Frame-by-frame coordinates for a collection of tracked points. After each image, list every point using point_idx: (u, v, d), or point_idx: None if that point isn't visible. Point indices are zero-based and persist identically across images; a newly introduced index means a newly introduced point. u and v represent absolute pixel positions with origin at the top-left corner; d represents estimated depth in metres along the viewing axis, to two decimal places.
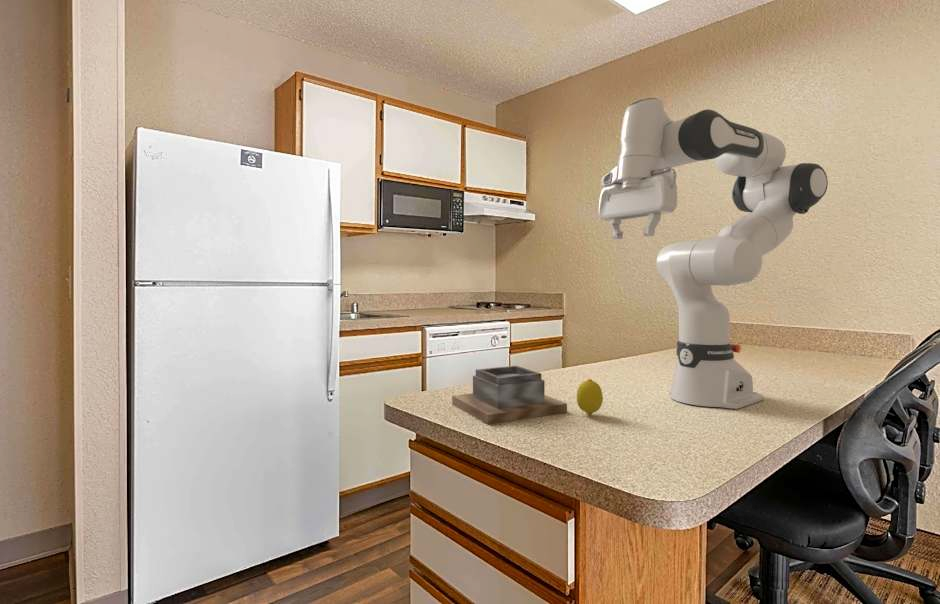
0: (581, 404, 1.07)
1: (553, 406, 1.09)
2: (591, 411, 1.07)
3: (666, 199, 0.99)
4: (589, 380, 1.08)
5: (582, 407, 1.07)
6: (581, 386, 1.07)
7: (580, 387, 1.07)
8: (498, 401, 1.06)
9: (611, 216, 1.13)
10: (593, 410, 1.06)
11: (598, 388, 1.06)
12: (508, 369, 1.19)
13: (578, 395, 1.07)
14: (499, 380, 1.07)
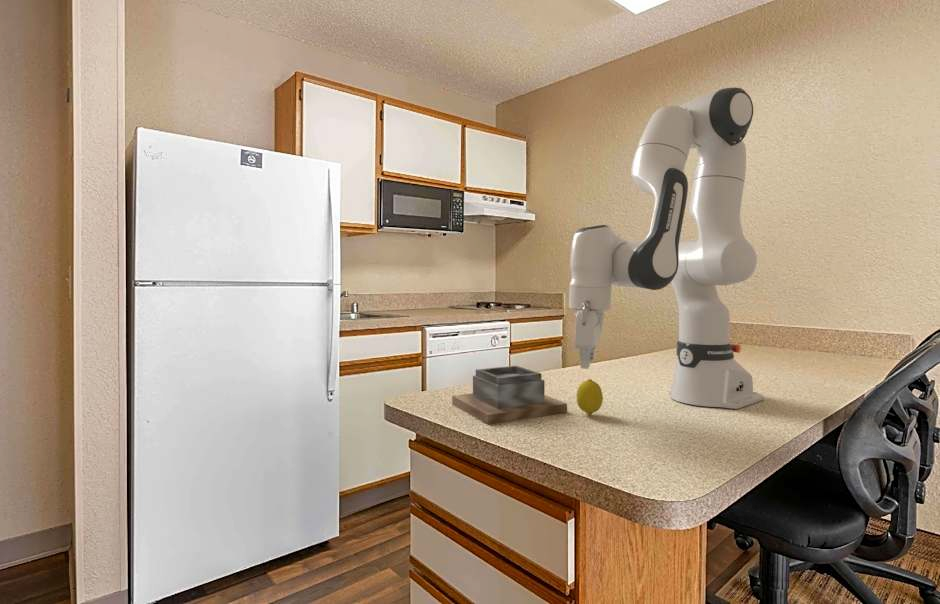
0: (581, 404, 1.07)
1: (553, 406, 1.09)
2: (591, 411, 1.07)
3: (576, 338, 0.98)
4: (589, 380, 1.08)
5: (582, 407, 1.07)
6: (581, 386, 1.07)
7: (580, 387, 1.07)
8: (498, 401, 1.06)
9: None
10: (593, 410, 1.06)
11: (598, 388, 1.06)
12: (508, 369, 1.19)
13: (578, 395, 1.07)
14: (499, 380, 1.07)
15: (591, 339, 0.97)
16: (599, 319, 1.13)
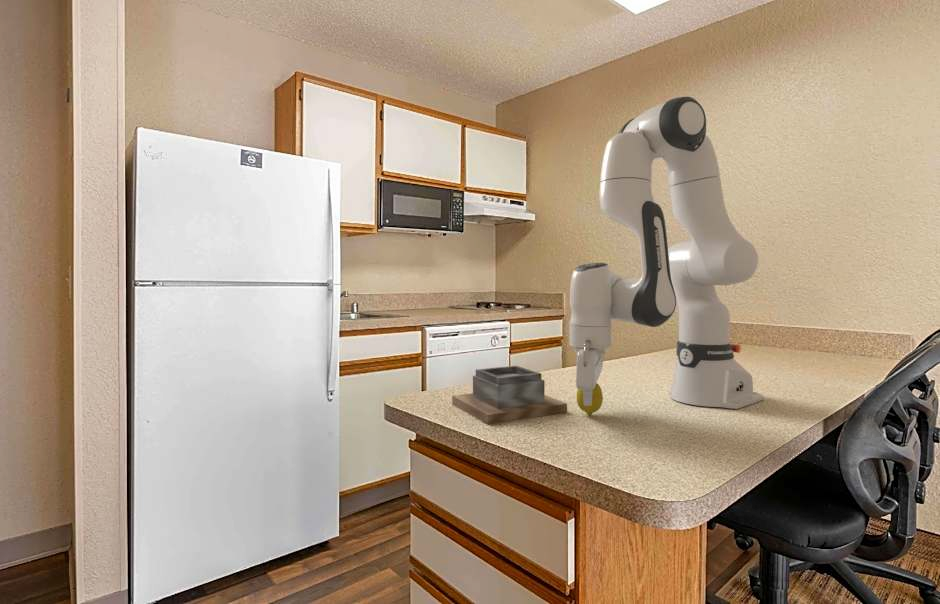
0: (581, 404, 1.07)
1: (553, 406, 1.09)
2: (591, 411, 1.07)
3: (578, 379, 0.99)
4: None
5: (582, 407, 1.07)
6: None
7: None
8: (498, 401, 1.06)
9: None
10: (593, 410, 1.06)
11: (598, 388, 1.06)
12: (508, 369, 1.19)
13: (578, 395, 1.07)
14: (499, 380, 1.07)
15: (593, 380, 0.98)
16: None
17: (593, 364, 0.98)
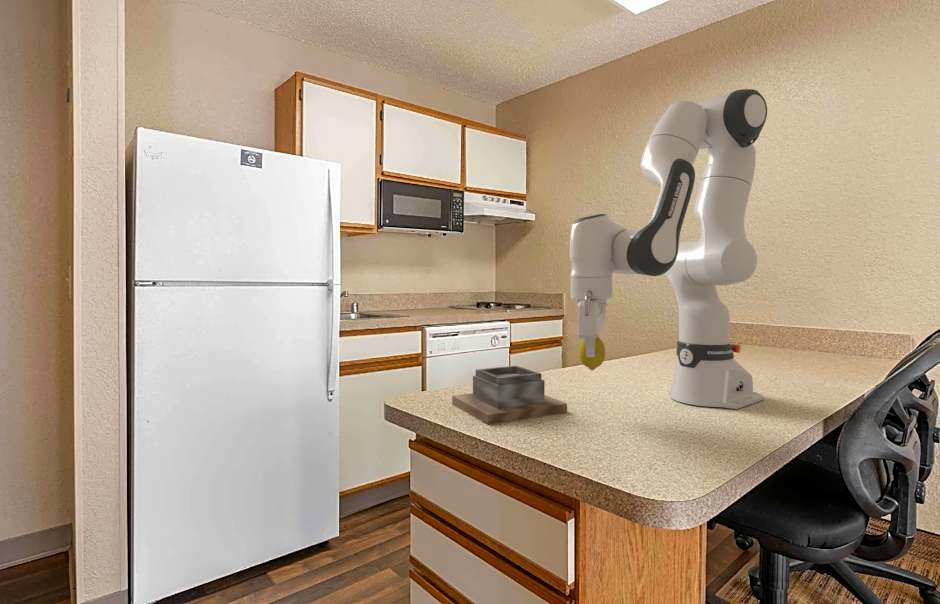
0: (583, 359, 1.06)
1: (553, 406, 1.09)
2: (594, 366, 1.06)
3: (580, 329, 0.98)
4: None
5: (585, 362, 1.07)
6: (583, 341, 1.07)
7: (582, 342, 1.07)
8: (498, 401, 1.06)
9: None
10: (596, 365, 1.06)
11: (600, 343, 1.06)
12: (508, 369, 1.19)
13: (580, 350, 1.07)
14: (499, 380, 1.07)
15: (595, 329, 0.98)
16: (602, 308, 1.13)
17: (595, 313, 0.98)
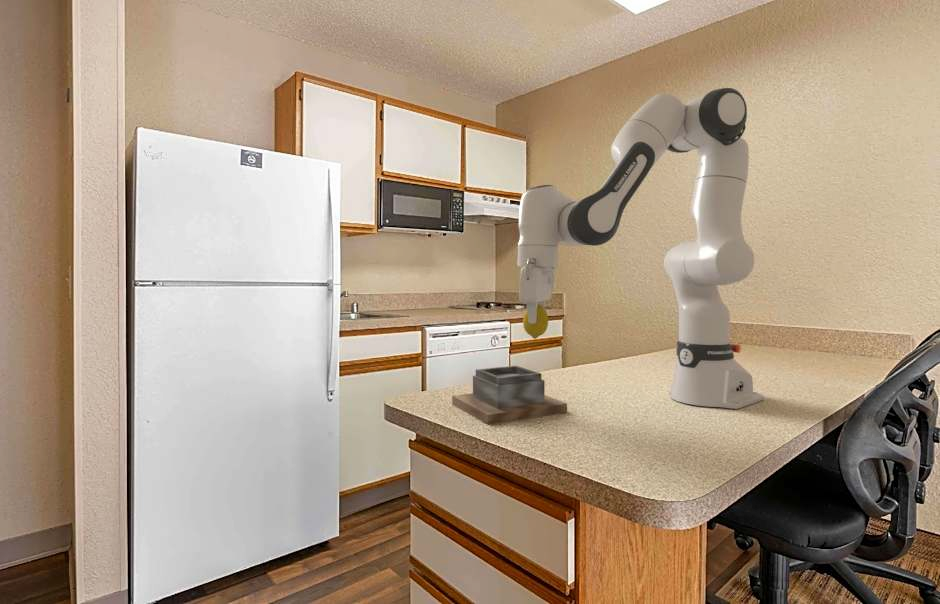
0: (526, 326, 1.09)
1: (553, 406, 1.09)
2: (536, 334, 1.09)
3: (521, 292, 1.01)
4: None
5: (527, 330, 1.09)
6: None
7: (526, 310, 1.10)
8: (498, 401, 1.06)
9: None
10: (538, 333, 1.09)
11: (543, 311, 1.09)
12: (508, 369, 1.19)
13: (524, 318, 1.10)
14: (499, 380, 1.07)
15: (534, 293, 1.00)
16: (549, 279, 1.16)
17: (535, 277, 1.01)
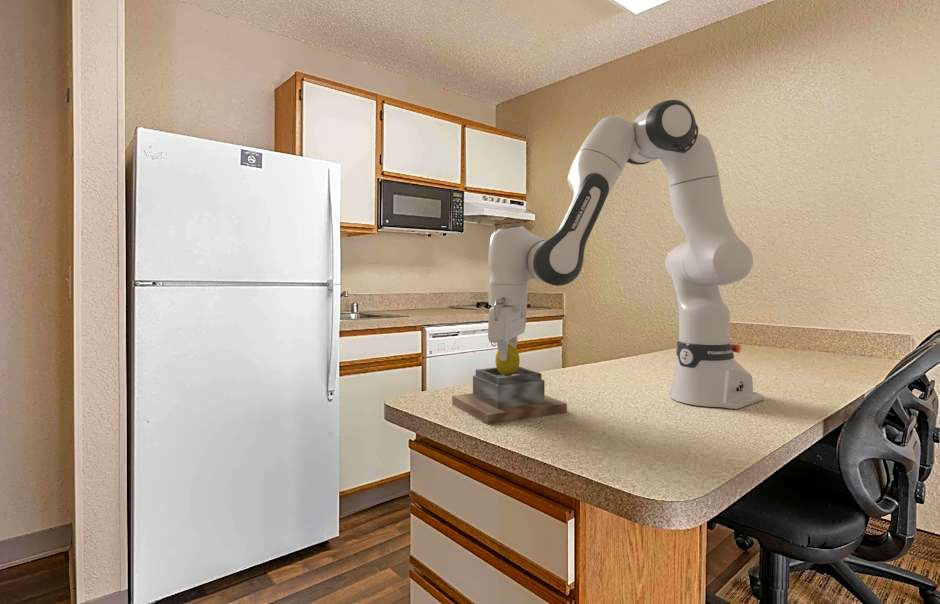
0: (498, 366, 1.12)
1: (553, 406, 1.09)
2: (508, 373, 1.12)
3: (489, 333, 1.04)
4: None
5: (499, 370, 1.12)
6: None
7: (498, 351, 1.13)
8: (498, 401, 1.06)
9: None
10: (509, 372, 1.12)
11: (514, 351, 1.12)
12: None
13: (496, 358, 1.13)
14: (499, 380, 1.07)
15: (502, 333, 1.04)
16: (522, 314, 1.19)
17: (503, 318, 1.04)
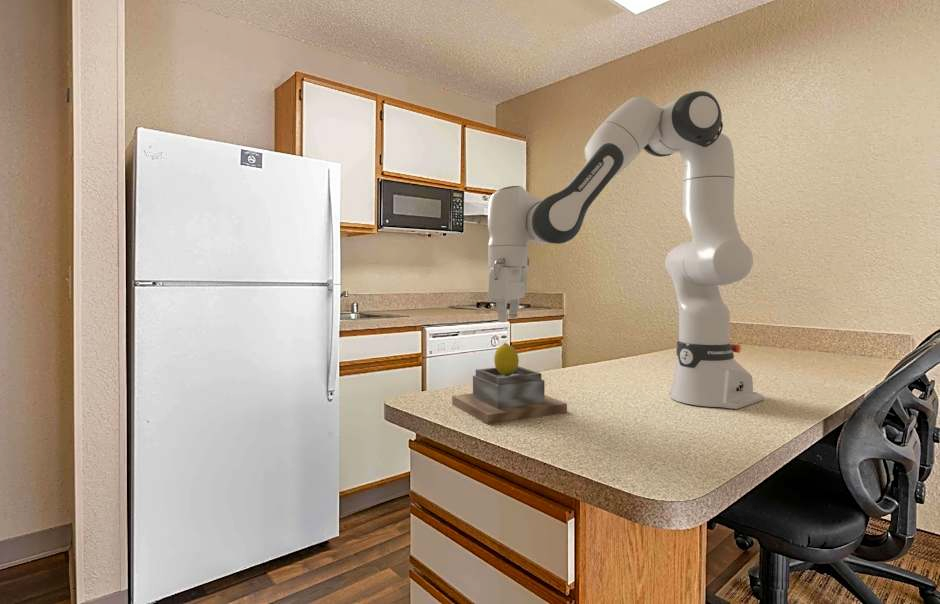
0: (497, 367, 1.12)
1: (553, 406, 1.09)
2: (507, 373, 1.12)
3: (490, 292, 1.04)
4: (504, 344, 1.13)
5: (499, 370, 1.12)
6: (497, 350, 1.13)
7: (496, 351, 1.13)
8: (498, 401, 1.06)
9: None
10: (509, 372, 1.12)
11: (512, 351, 1.12)
12: None
13: (495, 359, 1.13)
14: (499, 380, 1.07)
15: (503, 292, 1.03)
16: (522, 278, 1.19)
17: (503, 277, 1.03)
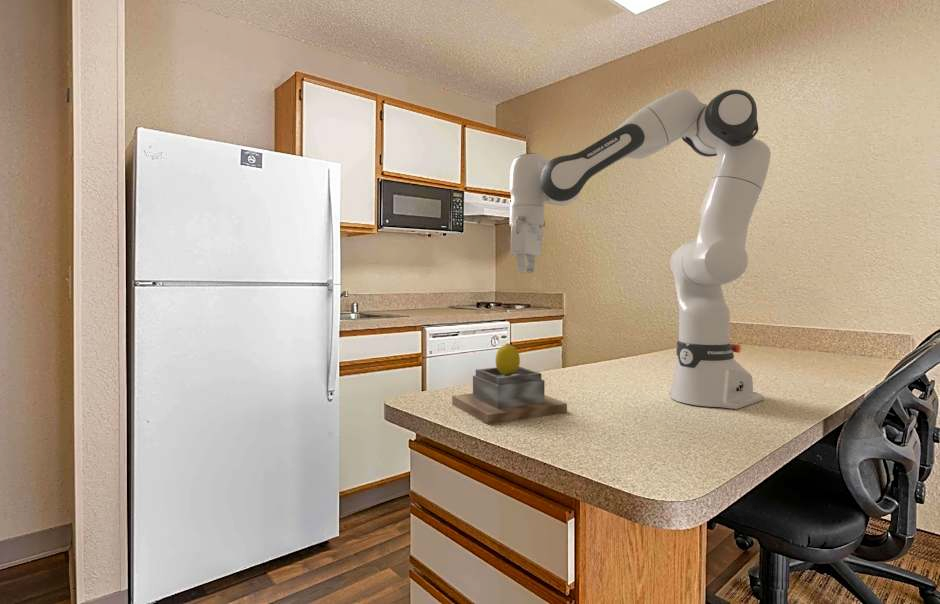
0: (498, 366, 1.12)
1: (553, 406, 1.09)
2: (507, 373, 1.12)
3: (512, 244, 1.18)
4: (507, 344, 1.13)
5: (499, 369, 1.13)
6: (499, 350, 1.13)
7: (498, 351, 1.13)
8: (498, 401, 1.06)
9: None
10: (509, 372, 1.12)
11: (514, 352, 1.12)
12: None
13: (496, 358, 1.13)
14: (499, 380, 1.07)
15: (523, 244, 1.18)
16: (538, 238, 1.33)
17: (524, 231, 1.18)
